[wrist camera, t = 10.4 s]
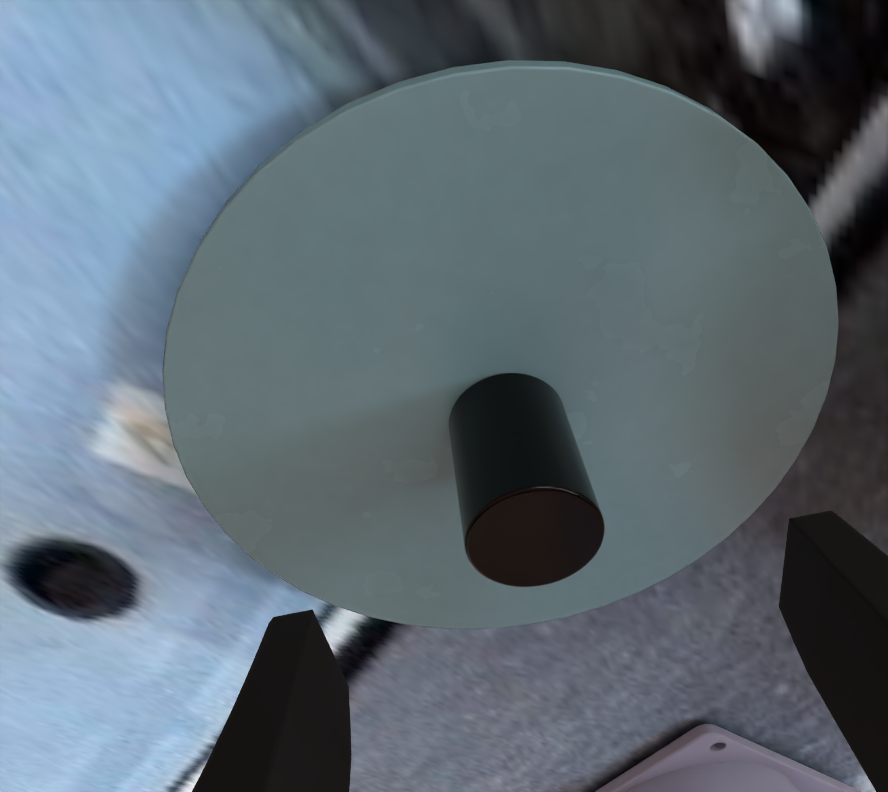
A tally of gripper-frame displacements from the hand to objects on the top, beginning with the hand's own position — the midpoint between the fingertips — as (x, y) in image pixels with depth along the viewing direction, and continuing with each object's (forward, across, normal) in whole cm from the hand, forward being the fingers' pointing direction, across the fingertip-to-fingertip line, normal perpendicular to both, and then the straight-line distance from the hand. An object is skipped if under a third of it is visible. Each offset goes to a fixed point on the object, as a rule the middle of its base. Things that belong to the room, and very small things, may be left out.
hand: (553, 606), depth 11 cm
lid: (+5, 0, 0) cm, 5 cm away
